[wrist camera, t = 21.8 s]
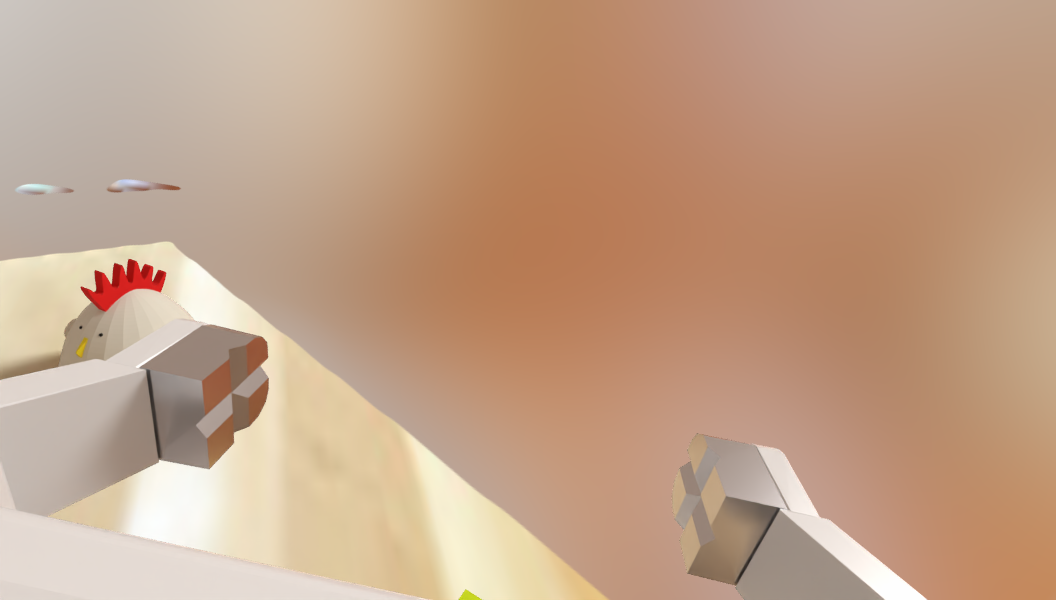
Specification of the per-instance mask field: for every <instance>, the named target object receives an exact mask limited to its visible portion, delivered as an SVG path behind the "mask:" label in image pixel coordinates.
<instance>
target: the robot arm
mask: <svg viewBox="0 0 1056 600" xmlns="http://www.w3.org/2000/svg"><path fill="white" fill-rule="evenodd" d="M267 358H268V347H267V342H266V341H265V339H264V338H263V337H261V336H257V335H253V334H248V333H244V332H240V331H236V330H232V329H228V328H224V327H220V326H215V325H209V324H207V323H203V322H198V321H194V320H189V319H174V320H173V321H171V322H169V323H168V324H166V325H164V326H163V327H161V328H159V329H158V330H156V331H154V332H153V333H151V334H149V335H148V336H146V337H144V338H143V339H141V340H139V341H138V342H136V343H134V344H133V345H131V346H129V347H128V348H126V349H124V350H123V351H121V352H119V353H118V354H116V355H114V356H113V357H111V358H109V359H108V360H106V361H104V360H99V359H93V360H89V361H84V362H80V363H75V364H70V365H66V366H61V367H57V368H52V369H47V370H43V371H38V372H34V373H29V374H24V375H20V376H15V377H11V378H6V379H2V380H0V600H429V599H424V598H420V597H415V596H411V595H406V594H401V593H397V592H392V591H387V590H383V589H378V588H374V587H369V586H364V585H360V584H355V583H351V582H346V581H341V580H337V579H332V578H327V577H323V576H318V575H314V574H309V573H304V572H300V571H295V570H290V569H286V568H281V567H277V566H272V565H267V564H263V563H258V562H254V561H249V560H244V559H240V558H235V557H231V556H226V555H221V554H217V553H212V552H207V551H203V550H198V549H194V548H189V547H184V546H180V545H175V544H171V543H166V542H161V541H157V540H152V539H148V538H143V537H138V536H134V535H129V534H124V533H120V532H115V531H111V530H106V529H101V528H97V527H92V526H88V525H83V524H78V523H74V522H69V521H65V520H60V519H55V518H51V517H47V516H49V515H51V514H53V513H55V512H57V511H59V510H61V509H64V508H66V507H68V506H70V505H72V504H74V503H76V502H78V501H80V500H82V499H84V498H86V497H88V496H90V495H92V494H94V493H96V492H99V491H101V490H103V489H105V488H107V487H109V486H111V485H113V484H115V483H117V482H119V481H121V480H123V479H125V478H127V477H129V476H132V475H134V474H136V473H138V472H140V471H142V470H144V469H146V468H148V467H150V466H152V465H154V464H156V463H158V462H159V460H163V461H168V462H174V463H179V464H184V465H190V466H195V467H200V468H206V469H210V468H211V467H212V466H213V465H214V464H215V463H216V462H217V461H218V460H219V458H220V457H221V456H222V455H223V454H224V453H225V452H226V451H227V450H228V449H229V448H230V447H231V446H232V445H233V444H234V432H236V431H239V430H241V429H244V428H247V427H249V426H250V425H251V424H252V423H253V422H254V421H255V419H256V418H257V417H258V416H259V414H260V412H261V410H262V408H263V406H264V404H265V402H266V399H267V394H268V389H269V378H268V376H267V375H266V374H265V372H264V371H263V369H262V368H261V365H262V364H263V363H264V361H265V360H266V359H267ZM687 451H688V454H689V457H690V460H691V461H690V462H688V463H687V464H686V465H684V466H682V467H680V468H679V471H678V473H677V476H676V478H675V481H674V485H673V492H672V508H673V514H674V518H675V520H676V521H677V523H678V524H679V525H680V526H681V527H682V528H683V529H684V531H683V534H682V536H681V538H680V545H681V549H682V553H683V557H684V561H685V566H686V570H687V573H688V574H691V575H695V576H699V577H703V578H707V579H711V580H716V581H720V582H724V583H728V584H732V585H736V587H735V588H736V590H737V591H738V592H739V593H740V595H741V596H742V597H743V599H744V600H927V599H926V598H924V597H923V596H922V595H921V594H919V593H918V592H917V591H915V589H913V588H912V587H911V586H910V585H908V584H907V583H906V582H905V581H904V580H902V579H901V578H899V577H898V576H897V575H896V574H895V573H894V572H893V571H891V570H890V569H889V568H887V567H886V566H885V565H884V564H883V563H881V562H880V561H879V560H878V559H877V558H875V557H874V556H873V555H872V554H870V553H869V552H868V551H867V550H866V549H864V548H863V547H862V546H861V545H859V544H858V543H857V542H856V541H854V540H853V539H852V538H851V537H850V536H848V535H847V534H846V533H845V532H843V531H842V530H841V529H840V528H839V527H837V526H836V525H835V524H834V523H832V522H831V521H830V520H828V519H824V518H820V517H819V515H818V513H817V512H816V510H815V508H814V506H813V504H812V503H811V501H810V499H809V497H808V496H807V494H806V492H805V490H804V488H803V487H802V485H801V483H800V481H799V480H798V478H797V476H796V474H795V472H794V471H793V469H792V467H791V465H790V464H789V462H788V460H787V458H786V456H785V455H784V453H782V452H781V451H780V450H779V449H776V448H771V447H766V446H760V445H755V444H746V443H741V442H737V441H732V440H727V439H722V438H717V437H712V436H708V435H703V434H698V433H697V434H696V435H695V437H694V438H693V439H692V441H691V443H690V445H689V447H688V449H687Z"/></svg>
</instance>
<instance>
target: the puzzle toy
mask: <svg viewBox="0 0 1056 600" xmlns="http://www.w3.org/2000/svg"><path fill="white" fill-rule="evenodd" d="M459 600H482V599H480V598H479V597H477V596H475V595H474V594H472V593H471V592H469V591H468V590H465V591H464V592H463V594H462V595H461V597H460V598H459Z"/></svg>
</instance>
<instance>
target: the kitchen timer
mask: <svg viewBox="0 0 1056 600" xmlns="http://www.w3.org/2000/svg"><path fill="white" fill-rule="evenodd" d="M152 275H153V266H150V265H147V264H145V265H144V266H143V268H142V271H141V272H140V269H139V265H138V263H137V261H134V260H131V259H129V260H128V265H127V275H126V274H125V271H124V268H123V266H122V265H119V264H116V263H114V267H113V277H112V284H111V283H110V282H109V280H108V278H107V277H106V275H105V274H104V273H102V272H99V271H96V270H95V282H96V291H95V292H93V291H91V290H89V289H87V288H84V287H81V290H82V291H83V293H84V294H85V295H86V297H87V298H88V299H89V300H90V301H91V302H92V303H91V304H89V305H88V306H87V307H86V308H85V309H84V310H83V311H82V312H81V314H80V315H79V316H78V318H77V319H74V320H72V321H71V322H70V323H69V324H68V325H67V327H66V328H65V331H64V334H65V337H66V339H65V342H64V345H63V349H62V353H61V356H60V361H59V365H58V367H61V366H66V365H70V364H75V363H80V362H84V361H89V360H93V359H99V360H104V361H106V360H108V359H109V358H111V357H113V356H114V355H116V354H118V353H119V352H121V351H123V350H124V349H126V348H128V347H129V346H131V345H133V344H134V343H136V342H138V341H139V340H141V339H143V338H144V337H146V336H148V335H149V334H151V333H153V332H154V331H156V330H158V329H159V328H161V327H163V326H164V325H166V324H168V323H169V322H171V321H173V320H174V319H189V320H194V319H193V318H192V317H191V315H190V314H189V313H188V312H187V311H186V310H185V309H184V308H183V307H182V306H180V305H179V304H178V303H177V302H175V301H174V300H172V299H171V298H169V297H168V296H166V295H164V294H162V293H160V292H161V290H162V287H163V285H164V281H165V277H166V272H164V271H161V270H158V272H157V274H156V276H155V278H154V280H153V281H152Z"/></svg>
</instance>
